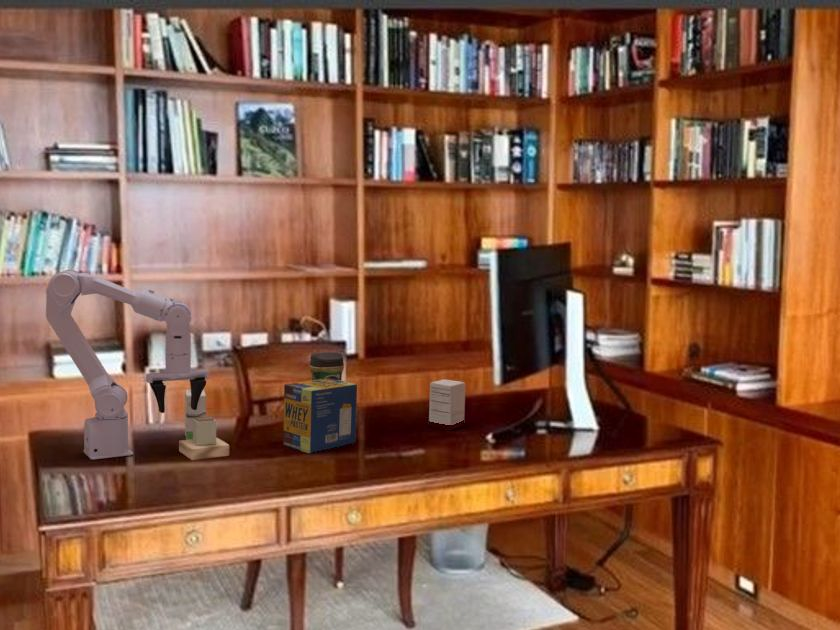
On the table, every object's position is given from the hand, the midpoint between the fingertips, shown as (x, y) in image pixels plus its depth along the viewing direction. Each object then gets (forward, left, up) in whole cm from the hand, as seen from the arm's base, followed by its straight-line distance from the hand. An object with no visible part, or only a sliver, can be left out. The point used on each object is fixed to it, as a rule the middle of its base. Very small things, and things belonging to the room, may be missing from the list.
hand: (178, 410), depth 204 cm
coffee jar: (+49, +19, -10) cm, 54 cm away
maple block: (+5, -4, -10) cm, 12 cm away
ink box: (+8, +11, -10) cm, 17 cm away
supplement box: (+73, -7, -10) cm, 74 cm away
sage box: (+5, -4, -7) cm, 10 cm away
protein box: (+33, -9, -10) cm, 36 cm away
